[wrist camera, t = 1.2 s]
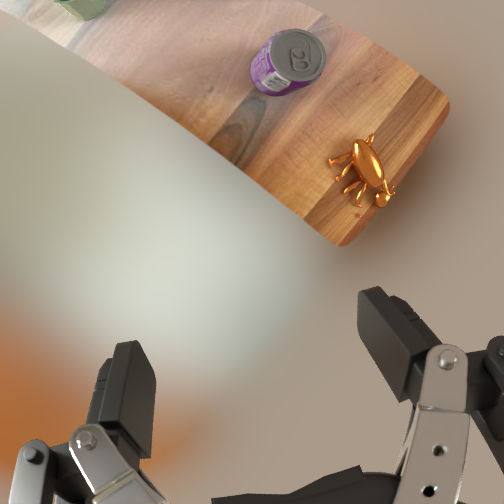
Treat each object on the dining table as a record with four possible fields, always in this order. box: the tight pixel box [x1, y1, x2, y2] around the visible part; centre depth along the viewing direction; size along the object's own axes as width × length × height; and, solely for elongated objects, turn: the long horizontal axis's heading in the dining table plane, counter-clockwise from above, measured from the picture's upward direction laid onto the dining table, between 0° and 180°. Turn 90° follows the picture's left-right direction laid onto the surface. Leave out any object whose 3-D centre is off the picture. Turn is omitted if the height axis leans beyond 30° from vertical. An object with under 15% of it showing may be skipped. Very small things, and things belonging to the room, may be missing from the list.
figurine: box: [329, 133, 395, 218], centre depth 45 cm, size 12×4×11 cm
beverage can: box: [250, 29, 326, 96], centre depth 34 cm, size 7×7×12 cm
